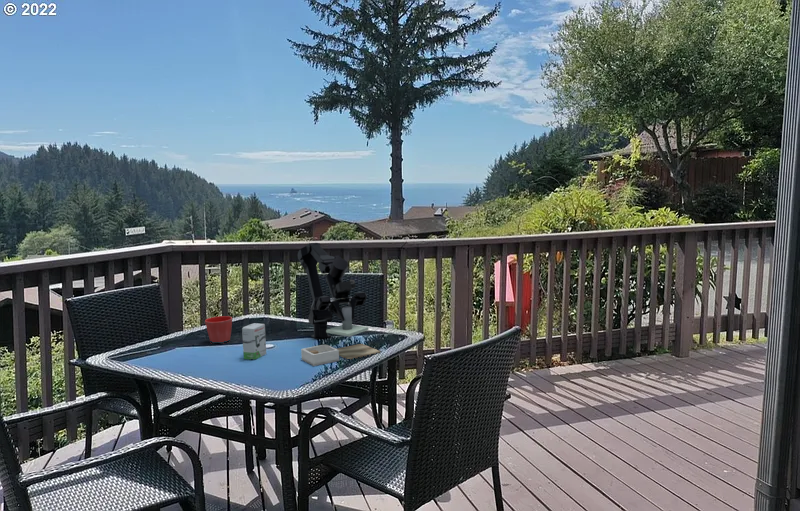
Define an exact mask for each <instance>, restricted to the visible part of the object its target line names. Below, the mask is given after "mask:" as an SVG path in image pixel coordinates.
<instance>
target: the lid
mask: <svg viewBox="0 0 800 511" xmlns="http://www.w3.org/2000/svg"><path fill="white" fill-rule="evenodd" d="M341 312H342V314H343V317H344V321H342V320H341V321H342V322H341V323H342V324H340V325H337V326H334V327H331V328H327V330H326V333H328V334H332V335H338V336H344V337H353V336H355V335H358V334H361V333H364V332H366V331H369V326H365V325H364V326H363V325H357V324H353V320H352V307H350V306H347V305H346V306H342V307H341Z"/></svg>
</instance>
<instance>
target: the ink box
mask: <svg viewBox="0 0 800 511" xmlns="http://www.w3.org/2000/svg"><path fill="white" fill-rule="evenodd" d="M241 330H242V331H241V332H242V333H241V335H242V349H243V350H242V352H243V359H244V360H251V359H253V360H254V359H255V360H257V359H259V358H261V357H263V356H266V355H267V341H266V338H267V337H266V325H265V323H257V322H256V323H255V322H254V323H250V324H248V325H245V326H243V327H242V328H241ZM253 360H252V361H253ZM255 360H254V361H255Z"/></svg>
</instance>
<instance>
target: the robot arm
mask: <svg viewBox="0 0 800 511" xmlns="http://www.w3.org/2000/svg"><path fill="white" fill-rule="evenodd" d="M297 260H298V261H299V263H300V266H301V267H302V268H303V269H304V270H305V272H306V277H307V282H308V285H309V290H310V295H311V299H312V304H311V307H310V313H309V314H308V324H311V325H313V326H312V327H313V334H311V335H310V337H311V338H312V339H313V338H314V339H316V340H321V339H327V338H331V337H332V335H330V334H329V333H326V330H328V323H332V322H333V314H334V315H335V316H336V317H337V318H339V319H340V320H341V321H344V317H343V314H342V308H341V307H340V305H342V304H347V305H348V306H350V307H352V321H353V320H355V308H356V307H360V306H364V305H365V303H366V300H367V299H368V295H367V293H366V292H365V291H359V292H355V293H354V295H353V296H350V295H351V291H352V290H354V289H355V288H356V287H357V285H356V282H355V280H354V279H349V280H348V281H344V280H343V278H344V276H345V274H346V272H347V270H348V267H349V262H348V261H347V260H346V259H345V258H342V257H341V256H340V255H335V256H332V255H329V254H328V253H327V252H326V251H325V250H324V249H323V247H322V246H321V244H320V243H319V242H309V243H307V244H306V245H305V246H303V247H301V248H300V249H299V250H298V251H297ZM318 270H319V271H318ZM319 272H320V273H321V274H322V275H326V276H325V284H327V286H328V288H329V295H330V296H331V297H330V296H329V295H326V296H325V295H324V293H323V288H322V284H321V280H320V275H319Z"/></svg>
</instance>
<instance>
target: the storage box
mask: <svg viewBox="0 0 800 511" xmlns="http://www.w3.org/2000/svg"><path fill="white" fill-rule="evenodd" d="M300 351H301V355H300V356H301V361H303V362H305V363H307V364H309V365H310V366H312V367H317V366H321V365H325V364H331V363H336V362H340V356H339V350H337V348H336V347H333V346H330V345H329V344H320V345H313V346H310V347H309V346H308V347H304V348H300Z"/></svg>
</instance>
